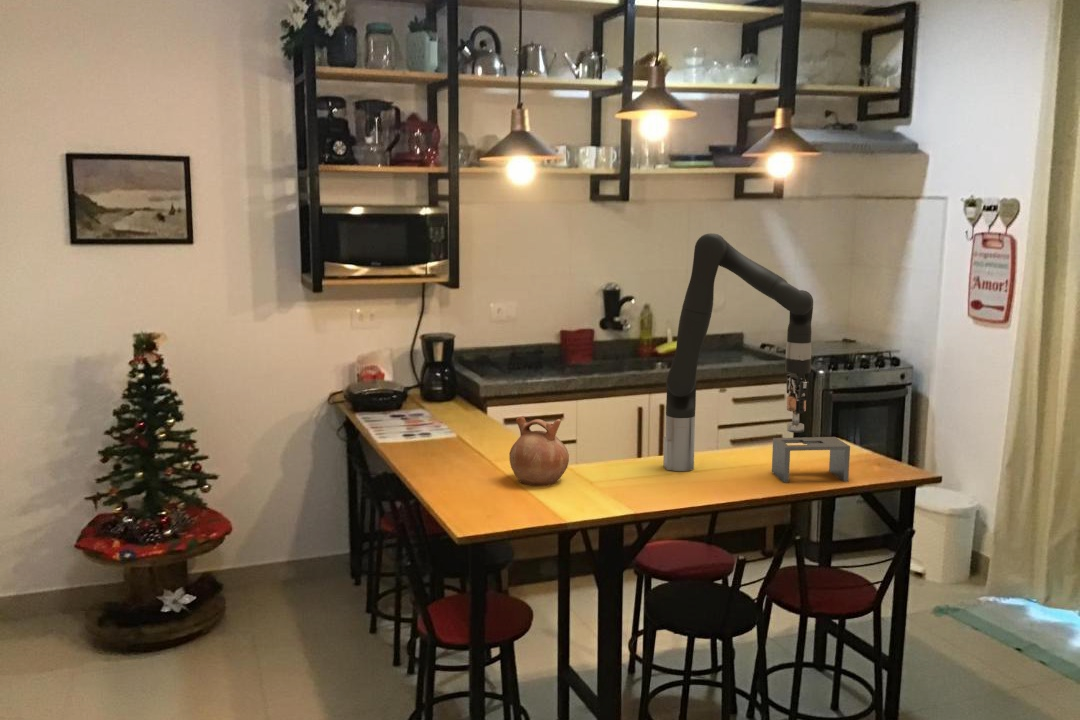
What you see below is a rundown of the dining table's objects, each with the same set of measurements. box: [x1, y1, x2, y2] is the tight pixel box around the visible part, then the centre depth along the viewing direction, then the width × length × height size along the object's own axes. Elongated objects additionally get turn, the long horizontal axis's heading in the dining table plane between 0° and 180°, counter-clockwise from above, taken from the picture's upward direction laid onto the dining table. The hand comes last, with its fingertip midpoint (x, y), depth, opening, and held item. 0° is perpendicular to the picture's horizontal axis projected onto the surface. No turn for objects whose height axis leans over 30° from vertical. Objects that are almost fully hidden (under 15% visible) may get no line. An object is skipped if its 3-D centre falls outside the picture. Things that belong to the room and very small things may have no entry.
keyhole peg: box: [786, 395, 807, 434], centre depth 295 cm, size 6×6×10 cm
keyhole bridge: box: [771, 436, 851, 484], centre depth 297 cm, size 20×12×11 cm, turn 94°
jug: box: [508, 415, 570, 487], centre depth 293 cm, size 18×18×20 cm
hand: (796, 410), depth 295 cm, fingers closed on keyhole peg, 5 cm apart
